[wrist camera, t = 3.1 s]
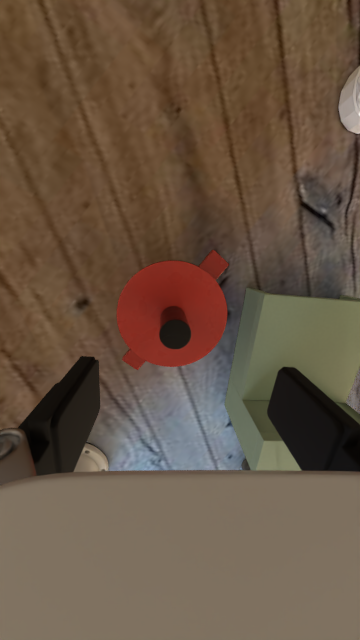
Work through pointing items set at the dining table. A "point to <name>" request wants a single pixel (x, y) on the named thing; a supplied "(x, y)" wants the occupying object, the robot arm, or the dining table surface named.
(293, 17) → the dining table surface
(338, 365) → the green step stand
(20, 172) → the dining table surface
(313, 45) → the dining table surface
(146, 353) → the lid
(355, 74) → the white cup
